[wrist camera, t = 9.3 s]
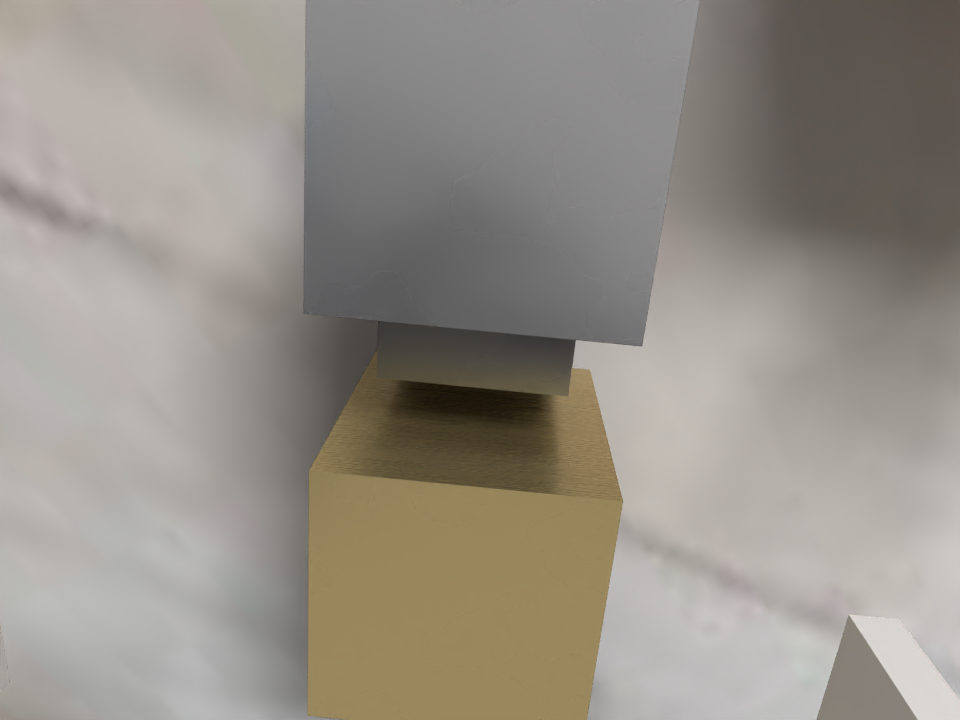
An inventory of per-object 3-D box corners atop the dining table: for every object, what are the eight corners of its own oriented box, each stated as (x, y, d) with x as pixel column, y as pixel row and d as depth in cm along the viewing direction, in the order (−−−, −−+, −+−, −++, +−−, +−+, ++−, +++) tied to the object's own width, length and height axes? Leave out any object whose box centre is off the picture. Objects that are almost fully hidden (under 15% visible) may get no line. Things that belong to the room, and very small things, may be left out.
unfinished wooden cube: (369, 533, 19) (307, 715, 14) (376, 349, 18) (308, 470, 12) (564, 552, 19) (582, 744, 14) (589, 369, 18) (623, 501, 12)
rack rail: (391, 739, 25) (353, 929, 19) (439, -90, 17) (399, -184, 11) (500, 750, 25) (494, 944, 19) (601, -77, 17) (643, -163, 11)
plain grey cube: (376, 239, 17) (303, 313, 11) (386, -8, 15) (306, -69, 9) (600, 260, 17) (641, 346, 11) (635, 13, 15) (705, -35, 9)
